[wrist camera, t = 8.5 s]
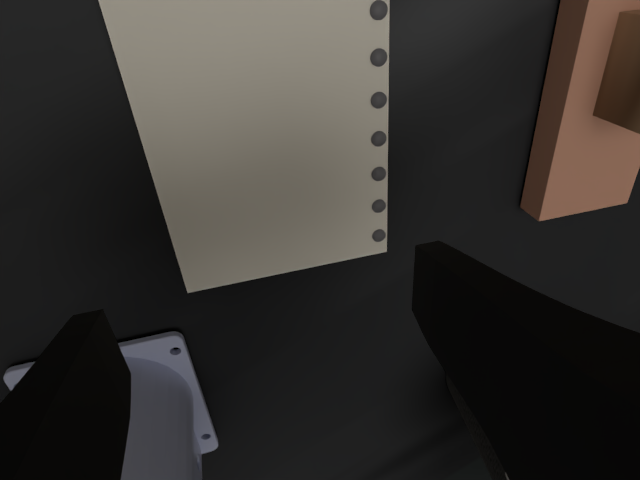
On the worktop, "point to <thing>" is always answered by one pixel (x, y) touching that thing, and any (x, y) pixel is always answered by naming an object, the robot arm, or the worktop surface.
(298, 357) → the worktop surface
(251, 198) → the pad
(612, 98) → the stub
